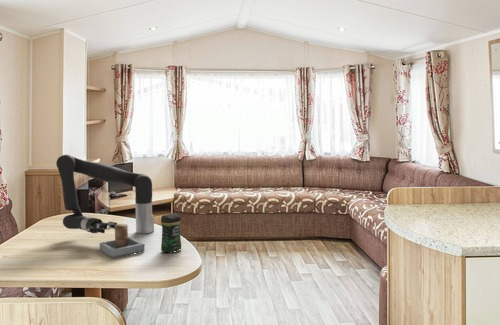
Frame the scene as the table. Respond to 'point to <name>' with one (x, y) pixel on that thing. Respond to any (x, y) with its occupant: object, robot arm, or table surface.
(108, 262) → the table surface
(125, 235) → the brown cylinder
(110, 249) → the grey tub
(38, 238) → the table surface
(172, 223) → the coffee jar
